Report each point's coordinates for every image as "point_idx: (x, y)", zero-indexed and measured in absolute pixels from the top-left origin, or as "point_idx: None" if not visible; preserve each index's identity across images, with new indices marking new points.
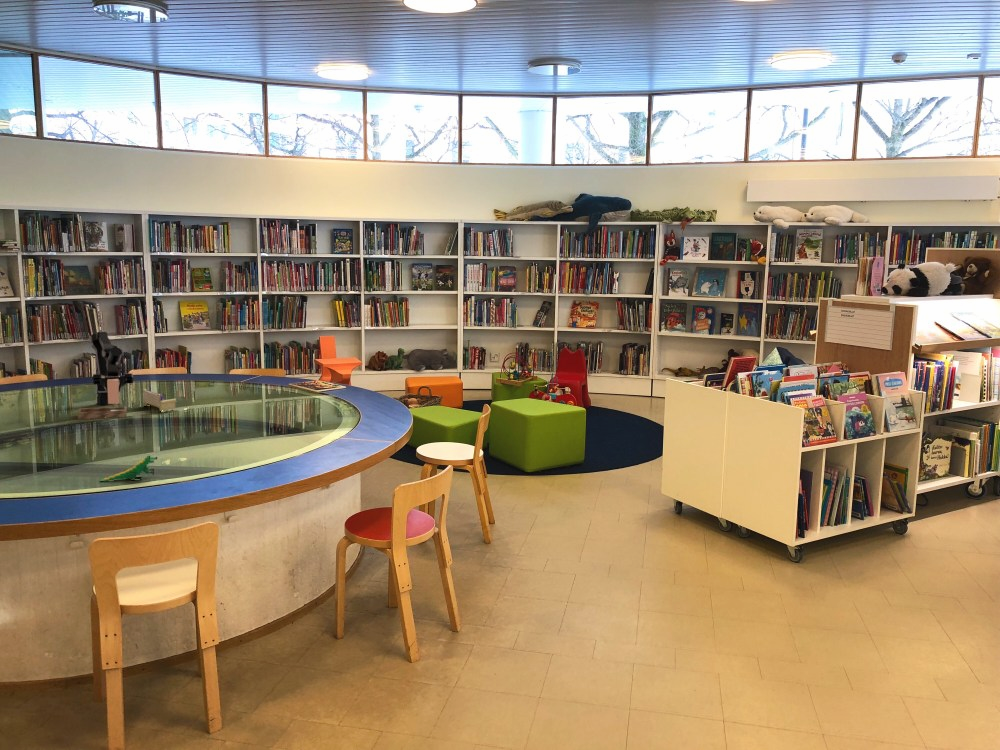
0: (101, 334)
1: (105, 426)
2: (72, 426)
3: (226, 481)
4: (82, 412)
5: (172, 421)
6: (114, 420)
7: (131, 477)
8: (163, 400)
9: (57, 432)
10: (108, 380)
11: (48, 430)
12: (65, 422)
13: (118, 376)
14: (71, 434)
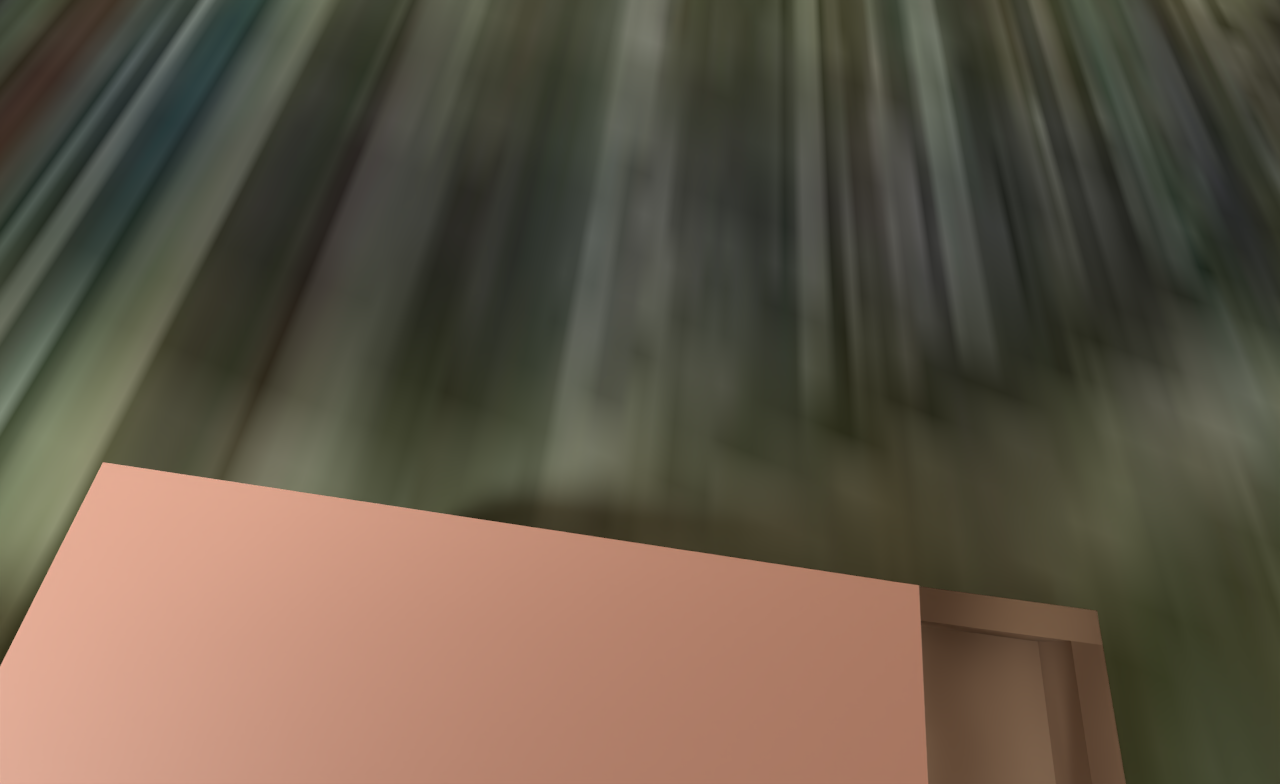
0: None
1: (717, 161)
2: (1015, 269)
3: None
4: (1032, 603)
5: (48, 121)
6: (603, 391)
7: None
8: None
9: (1088, 109)
10: (831, 687)
11: (1183, 197)
12: (1131, 487)
13: None
14: (969, 20)
